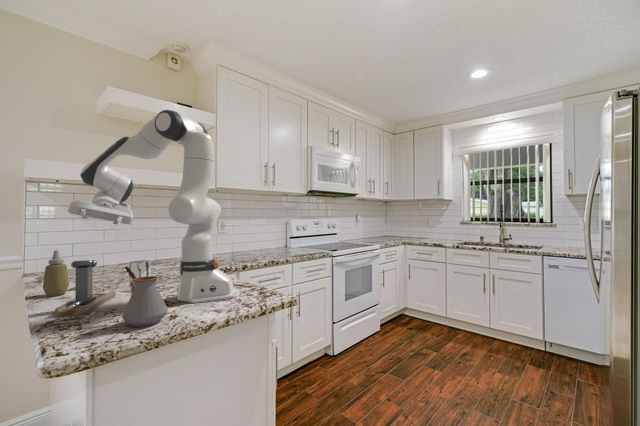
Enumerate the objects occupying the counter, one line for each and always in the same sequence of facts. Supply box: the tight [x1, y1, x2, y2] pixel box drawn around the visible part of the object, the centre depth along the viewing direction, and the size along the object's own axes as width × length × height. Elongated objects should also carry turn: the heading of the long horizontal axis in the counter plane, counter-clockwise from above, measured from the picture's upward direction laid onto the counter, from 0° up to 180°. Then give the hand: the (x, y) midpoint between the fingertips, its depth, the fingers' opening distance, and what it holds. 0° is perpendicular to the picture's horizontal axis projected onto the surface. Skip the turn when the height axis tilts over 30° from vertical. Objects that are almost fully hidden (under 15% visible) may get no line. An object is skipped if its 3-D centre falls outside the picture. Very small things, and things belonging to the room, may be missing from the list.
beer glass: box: [127, 259, 152, 296], centre depth 107 cm, size 7×7×15 cm
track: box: [52, 289, 117, 318], centre depth 105 cm, size 9×24×2 cm, turn 16°
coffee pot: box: [121, 266, 168, 328], centre depth 90 cm, size 21×12×15 cm, turn 51°
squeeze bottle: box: [42, 250, 70, 297], centre depth 121 cm, size 8×8×18 cm
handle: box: [68, 259, 98, 310], centre depth 99 cm, size 7×12×14 cm, turn 16°
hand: (100, 219), depth 110 cm, fingers open, 8 cm apart
